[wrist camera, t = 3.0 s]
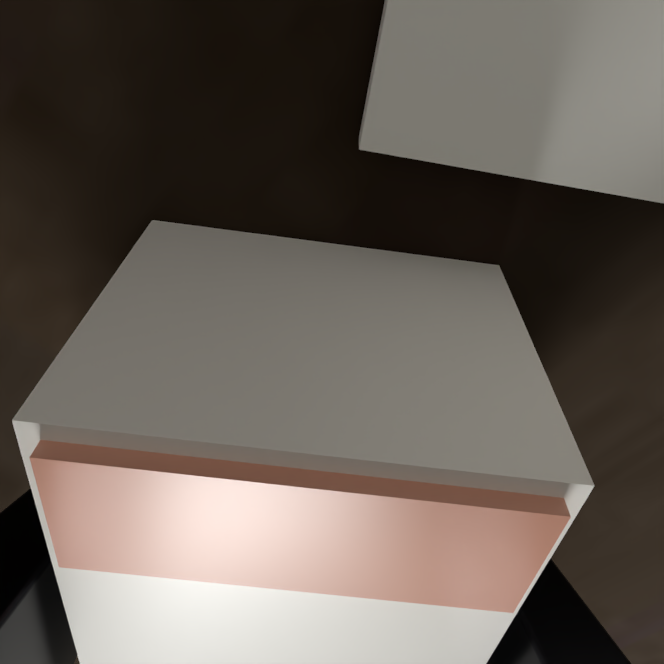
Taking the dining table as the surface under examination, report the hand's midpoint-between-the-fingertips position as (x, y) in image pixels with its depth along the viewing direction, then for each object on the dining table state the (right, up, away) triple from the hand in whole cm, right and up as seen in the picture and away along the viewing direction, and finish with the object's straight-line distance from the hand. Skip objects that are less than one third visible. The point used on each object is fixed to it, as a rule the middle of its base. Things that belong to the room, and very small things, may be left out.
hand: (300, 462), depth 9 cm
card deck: (0, +1, +1) cm, 1 cm away
